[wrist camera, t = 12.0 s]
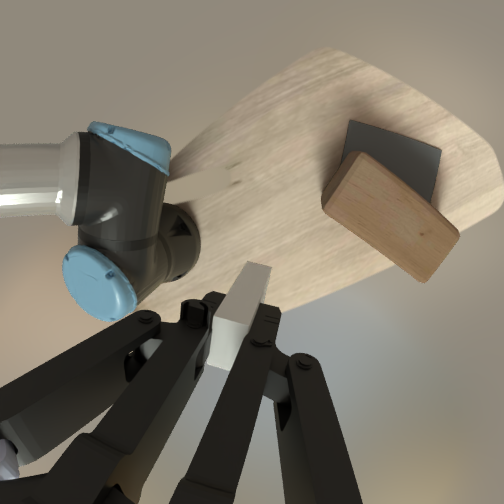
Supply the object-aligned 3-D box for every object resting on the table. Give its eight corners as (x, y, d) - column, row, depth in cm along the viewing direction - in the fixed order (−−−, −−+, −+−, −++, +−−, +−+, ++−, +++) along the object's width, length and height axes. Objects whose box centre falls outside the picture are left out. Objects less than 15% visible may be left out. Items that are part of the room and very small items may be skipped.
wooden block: (360, 148, 34) (464, 235, 34) (351, 148, 43) (439, 218, 43) (319, 210, 38) (424, 288, 38) (318, 198, 47) (407, 262, 47)
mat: (335, 189, 46) (335, 189, 46) (349, 119, 42) (349, 119, 42) (425, 216, 44) (426, 216, 43) (441, 150, 40) (441, 150, 39)
